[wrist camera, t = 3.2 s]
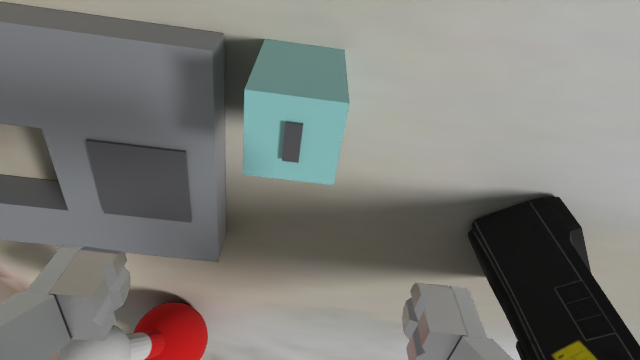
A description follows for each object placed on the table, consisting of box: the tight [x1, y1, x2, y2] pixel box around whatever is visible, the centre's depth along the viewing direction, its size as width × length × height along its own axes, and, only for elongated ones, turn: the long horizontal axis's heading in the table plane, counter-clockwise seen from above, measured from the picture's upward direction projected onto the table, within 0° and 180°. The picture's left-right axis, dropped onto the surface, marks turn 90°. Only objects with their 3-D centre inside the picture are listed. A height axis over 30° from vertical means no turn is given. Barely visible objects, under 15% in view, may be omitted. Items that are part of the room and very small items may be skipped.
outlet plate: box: [0, 2, 226, 262], centre depth 22 cm, size 14×16×3 cm
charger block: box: [243, 39, 349, 185], centre depth 19 cm, size 4×4×6 cm
